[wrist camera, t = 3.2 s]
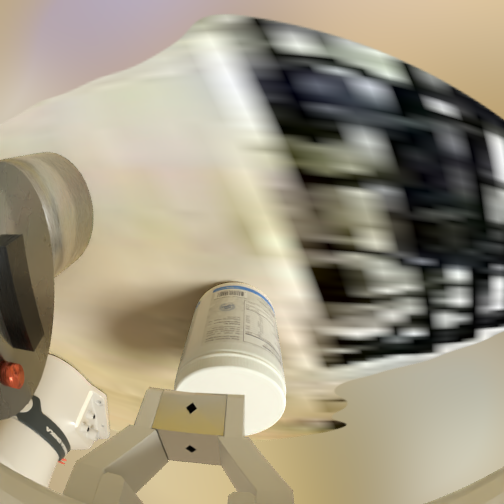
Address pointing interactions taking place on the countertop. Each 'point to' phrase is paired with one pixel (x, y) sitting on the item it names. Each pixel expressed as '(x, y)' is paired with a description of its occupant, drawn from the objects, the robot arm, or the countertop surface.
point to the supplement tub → (236, 353)
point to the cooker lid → (23, 290)
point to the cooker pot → (60, 204)
